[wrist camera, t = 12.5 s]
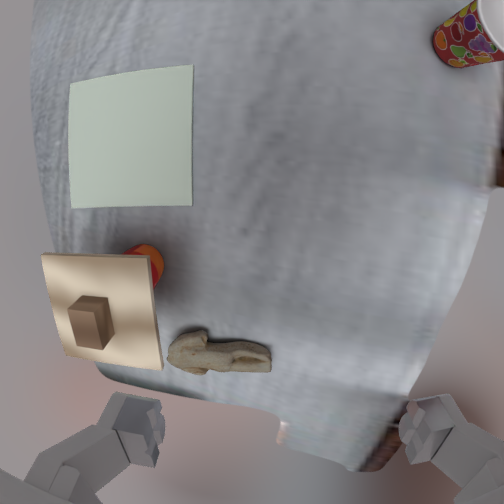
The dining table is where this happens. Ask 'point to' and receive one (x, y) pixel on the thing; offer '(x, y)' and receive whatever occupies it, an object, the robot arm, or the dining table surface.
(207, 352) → the sculpture
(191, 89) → the mat
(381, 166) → the dining table surface
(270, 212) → the dining table surface
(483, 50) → the smoothie
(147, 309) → the lid
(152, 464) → the robot arm
